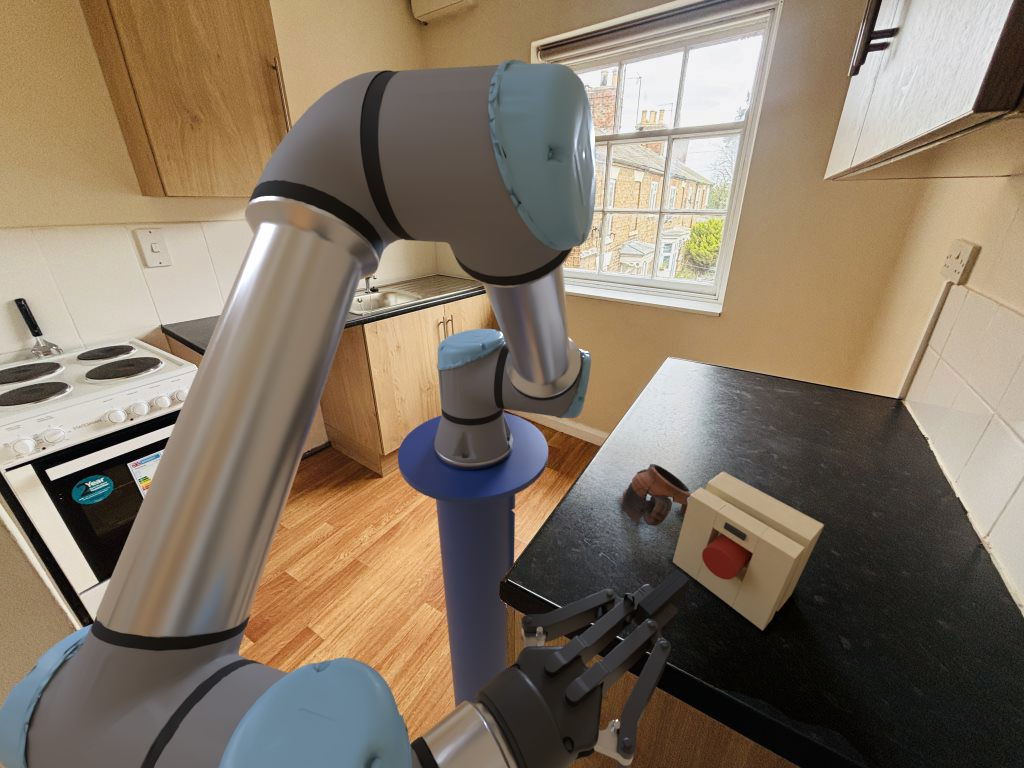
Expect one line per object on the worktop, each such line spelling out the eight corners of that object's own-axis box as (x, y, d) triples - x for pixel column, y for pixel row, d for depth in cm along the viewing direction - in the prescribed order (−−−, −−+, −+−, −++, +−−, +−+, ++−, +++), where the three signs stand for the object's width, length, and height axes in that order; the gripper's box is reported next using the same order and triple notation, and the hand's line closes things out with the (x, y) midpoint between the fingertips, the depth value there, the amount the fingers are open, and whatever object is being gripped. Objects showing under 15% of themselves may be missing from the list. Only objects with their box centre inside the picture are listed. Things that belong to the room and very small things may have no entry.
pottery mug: (613, 489, 70) (641, 452, 68) (660, 519, 69) (690, 482, 67) (620, 526, 58) (653, 482, 56) (676, 562, 58) (712, 519, 56)
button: (698, 563, 50) (705, 540, 48) (715, 548, 52) (723, 525, 50) (730, 586, 47) (739, 562, 45) (747, 569, 49) (756, 545, 47)
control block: (671, 563, 56) (688, 495, 50) (703, 535, 60) (723, 471, 55) (761, 632, 47) (794, 560, 42) (791, 594, 52) (824, 524, 46)
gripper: (455, 697, 36) (626, 566, 49) (552, 878, 26) (733, 657, 39) (450, 645, 33) (635, 519, 45) (560, 831, 23) (754, 606, 36)
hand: (680, 583), depth 42 cm, fingers closed
